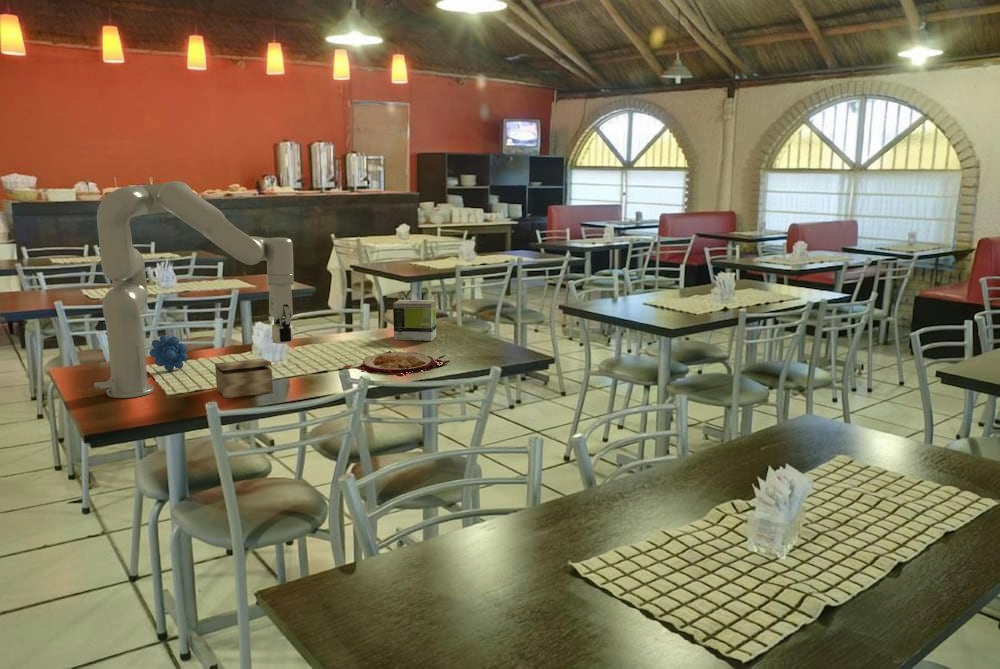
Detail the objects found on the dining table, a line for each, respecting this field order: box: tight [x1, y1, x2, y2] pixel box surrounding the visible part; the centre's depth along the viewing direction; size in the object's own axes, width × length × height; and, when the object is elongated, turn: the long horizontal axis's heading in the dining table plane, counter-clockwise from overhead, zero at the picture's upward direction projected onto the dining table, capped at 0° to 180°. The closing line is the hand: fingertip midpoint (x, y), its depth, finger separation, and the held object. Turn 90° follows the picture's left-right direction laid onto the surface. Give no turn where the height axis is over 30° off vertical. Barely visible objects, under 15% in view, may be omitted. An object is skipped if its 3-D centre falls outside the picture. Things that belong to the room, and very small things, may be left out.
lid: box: [214, 358, 272, 371], centre depth 241 cm, size 14×11×1 cm
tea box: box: [392, 299, 437, 342], centre depth 317 cm, size 15×10×15 cm
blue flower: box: [149, 334, 189, 372], centre depth 264 cm, size 12×7×12 cm, turn 123°
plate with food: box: [342, 350, 450, 376], centre depth 275 cm, size 25×26×4 cm
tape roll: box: [271, 323, 294, 345], centre depth 244 cm, size 6×6×5 cm
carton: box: [214, 366, 274, 399], centre depth 242 cm, size 14×11×7 cm
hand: (282, 338), depth 245 cm, fingers closed on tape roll, 5 cm apart
